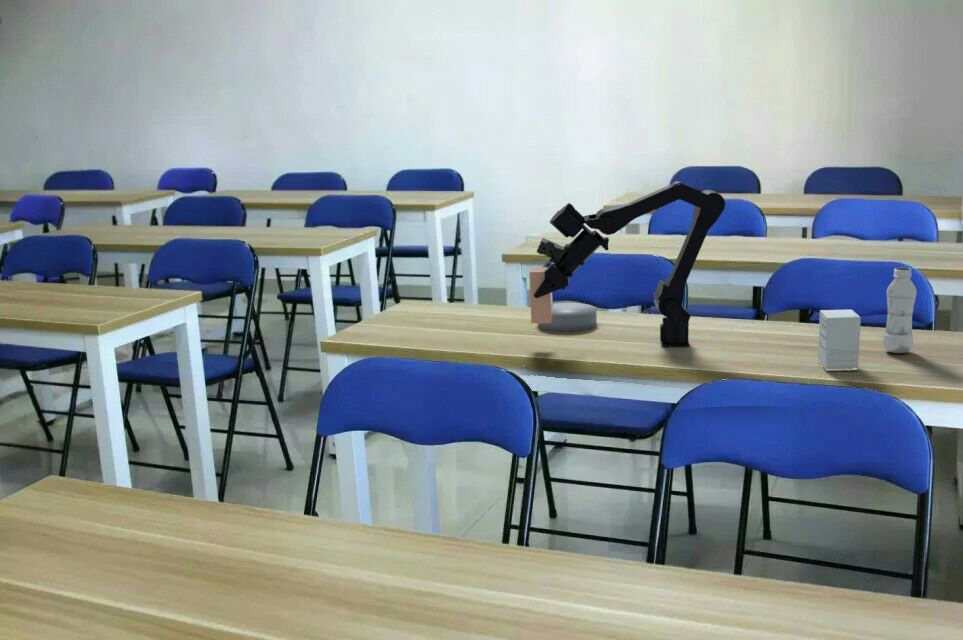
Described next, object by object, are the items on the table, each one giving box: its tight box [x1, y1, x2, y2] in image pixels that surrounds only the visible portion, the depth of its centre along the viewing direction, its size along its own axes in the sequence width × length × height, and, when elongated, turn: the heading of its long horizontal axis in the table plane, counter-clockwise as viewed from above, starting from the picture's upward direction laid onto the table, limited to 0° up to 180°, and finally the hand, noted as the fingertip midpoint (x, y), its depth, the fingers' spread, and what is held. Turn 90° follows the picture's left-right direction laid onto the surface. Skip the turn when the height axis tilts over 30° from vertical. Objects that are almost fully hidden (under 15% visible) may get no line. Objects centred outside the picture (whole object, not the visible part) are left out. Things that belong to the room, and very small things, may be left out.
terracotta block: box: [529, 266, 554, 324], centre depth 249 cm, size 5×5×13 cm
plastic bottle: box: [882, 267, 918, 354], centre depth 233 cm, size 6×7×20 cm
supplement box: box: [817, 309, 862, 369], centre depth 225 cm, size 7×7×13 cm
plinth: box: [537, 302, 598, 332], centre depth 273 cm, size 16×16×4 cm
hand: (535, 294), depth 249 cm, fingers closed on terracotta block, 5 cm apart
